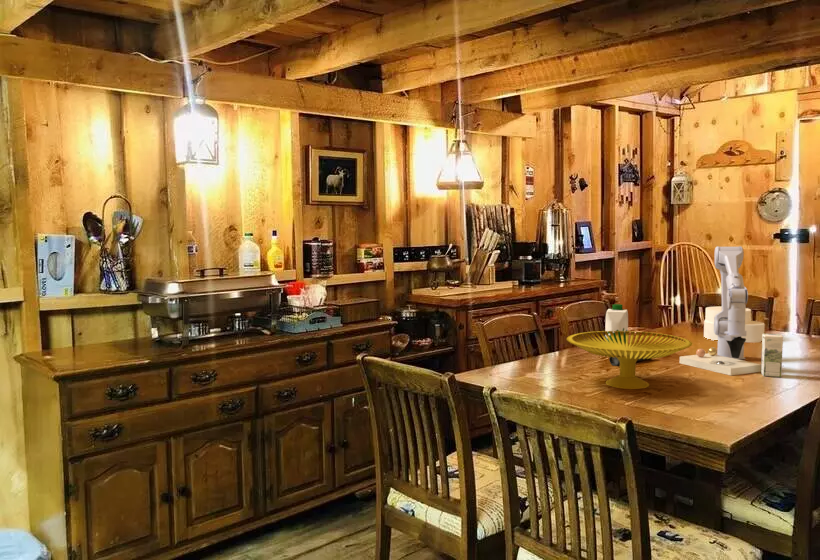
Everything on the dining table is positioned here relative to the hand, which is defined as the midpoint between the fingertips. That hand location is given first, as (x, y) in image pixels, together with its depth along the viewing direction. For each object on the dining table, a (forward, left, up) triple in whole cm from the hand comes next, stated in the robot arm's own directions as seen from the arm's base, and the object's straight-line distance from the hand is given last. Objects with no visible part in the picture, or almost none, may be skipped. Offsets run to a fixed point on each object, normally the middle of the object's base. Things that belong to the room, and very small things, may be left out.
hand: (735, 357), depth 257 cm
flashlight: (+26, -25, -4) cm, 36 cm away
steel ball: (+7, 0, -2) cm, 8 cm away
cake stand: (+52, +2, -4) cm, 52 cm away
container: (-50, -46, -4) cm, 69 cm away
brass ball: (-1, -12, 0) cm, 12 cm away
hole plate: (+4, -4, -4) cm, 7 cm away
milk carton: (+20, -42, -4) cm, 46 cm away
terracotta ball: (+5, -12, 0) cm, 13 cm away
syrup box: (-1, +14, -4) cm, 15 cm away
